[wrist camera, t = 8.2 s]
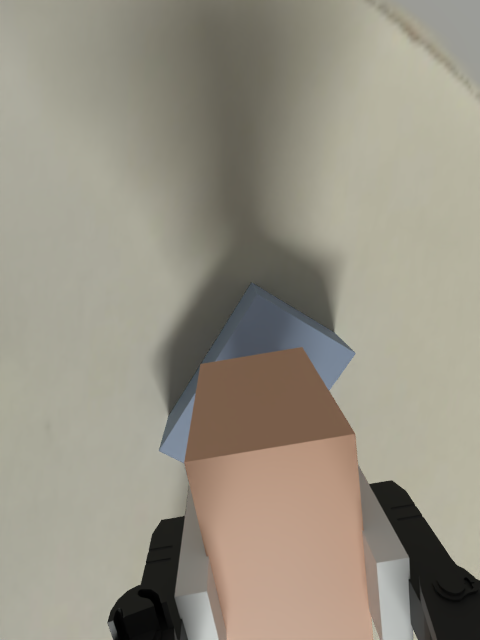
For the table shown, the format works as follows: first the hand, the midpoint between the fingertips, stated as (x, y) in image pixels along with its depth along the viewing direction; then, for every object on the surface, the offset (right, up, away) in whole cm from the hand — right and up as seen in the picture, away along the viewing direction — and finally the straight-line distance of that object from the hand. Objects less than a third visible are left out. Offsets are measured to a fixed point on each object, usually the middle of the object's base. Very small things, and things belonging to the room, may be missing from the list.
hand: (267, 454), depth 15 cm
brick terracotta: (0, 0, 0) cm, 0 cm away
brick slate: (0, +2, +8) cm, 9 cm away
